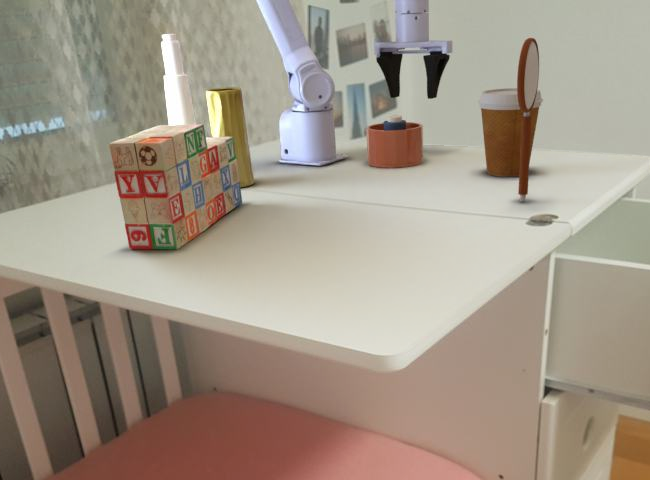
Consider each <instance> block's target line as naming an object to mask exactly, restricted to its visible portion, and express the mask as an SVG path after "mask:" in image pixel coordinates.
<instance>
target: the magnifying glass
mask: <svg viewBox="0 0 650 480" xmlns="http://www.w3.org/2000/svg"><path fill="white" fill-rule="evenodd" d="M539 76H540V51H539V45H538V43H537V39H535V38H534V37H528V38H526V39H525V40H524V42H523V44H522V47H521V50H520V54H519V59H518V66H517V76H516V77H517V79H516V88H517V95H518V103H519V107H520V110H521V111H522V112H524V116H522V124H521V146H520V169H519V176H518V191H517V192H518V194H517V195H519V201H521V202H525V201H527V199H526V198H527V195H528V194H529V193H528V192H529V174H530V163H529V156H530V136H531V116H530V111H531V110H532V108H533V105H534V102H535V99H536V94H537V89H538V88H539V87H538V86H539V78H540V77H539Z"/></svg>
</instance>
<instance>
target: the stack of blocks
mask: <svg viewBox="0 0 650 480" xmlns="http://www.w3.org/2000/svg"><path fill="white" fill-rule="evenodd" d="M108 146H109V150H110V155H111V160H112V165H113V168H114V172H113V173H114V174H113V175H114V178H115V183H116V189H117V193H118V197H119V201H120V206H121V211H122V216H123V221H124V228H125V233H126V237H127V244H128V247H129V249H131V250H179V249H180V248H182V247H183V246H185V245H186V244H187V243H188V242H190V241H192V240H193V239H195V238H196V237H198V236H199V235H200V234H202V233H203V232H205V231H206V230H207V229H208V228H209V227H211V226H212V225H213V224H215V222H217V221H218V220H219V219H221V218H223V217H224V216H225V215H226V214H228V213H230V212H231V211H232V210H234V209H235V208H237V207H238V206H240V205H241V204H242V203H243V198H242V189H241V188H240V182H239V180H240V179H239V171H238V163H237V159H236V154H235V147H234V139H233V137H212V136H210V137H208V136H206V131H205V123H196V124H191V125H169V124H159V125H156V126H153V127H150V128H147V129H144V130H142V131H139V132H137V133H135V134H132V135H129V136H126V137H124V138H120V139H117V140H114V141H110V143H109V145H108Z"/></svg>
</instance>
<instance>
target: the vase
mask: <svg viewBox="0 0 650 480" xmlns="http://www.w3.org/2000/svg"><path fill="white" fill-rule="evenodd" d="M205 97H206V104H207V110H208V119H209V125H210V126H209V127H210V133H211V137H233V139H234V147H235V154H236V159H237V163H238V171H239V179H240V180H239V182H240V189H241V188H247V187H249V186H252V185H254V184H255V183H256V181H255V178H254V172H253V165H252V158H251V151H250V144H249V137H248V136H249V135H248V130H247V123H246V115H245V108H244V97H243V91H242V88H241V87H239V86H228V87H215V88H208V89H206V90H205Z"/></svg>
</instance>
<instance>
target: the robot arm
mask: <svg viewBox="0 0 650 480" xmlns="http://www.w3.org/2000/svg"><path fill="white" fill-rule="evenodd" d="M255 2H256V3H257V6H258V7H259V10H260V12H261V14H262V16H263V19H264V21H265V23H266V26H267V28H268V29H269V30H268V31H269V32H270V34H271V36H272V39H273V40H274V43H275V45H276V47H277V49H278V51H279V53H280V56H281V59H282V63H283V68H284V70H285V72H286V75H287V81H288V83H287V87H288V91H289V94H290V96H291V97H292V98H293V99H294V101H293V103H292V105H291V108H288V109H285V110H284V111H283V112H282V113H281V115H280V118H279V121H278V122H279V123H278V131H279V141H280V142H279V143H280V151H281V158H280V159H279V160H278V162H279V163H283V164H294V165H306V166H318V167H322V166H326V165H328V164H331V163H334V162H338V161H341V160H344V159H347V154H337V146H336V129H335V111H334V104H333V103H331V102H332V101H333V99H334V97H335V94H336V85H335V81H334V79H333V78H332V76H331V75H330V73H328V72H327V71H325V70H324V69H323V67H322V65H321V64H320V61H319V59H318V57H317V56H316V54H315V53H314V51H313V50H312V49H311V47H310V45H309V43H308V41H307V38H306V36H305V34H304V31H303V29H302V27H301V24H300V22H299V20H298V18H297V15H296V14H295V11H294V9H293V6H292V3H291V2H290V0H255ZM429 3H430V1H429V0H394V21H395V23H394V24H395V26H394V27H395V41H380V42H379V41H378V42H374V44H373V45H374V46H373V47H374V48H373V49H374V55H379V56H378V57H376V63H377V64H378V66H379V68H380V70H381V72H382V74H383V76H384V80H385V83H386V85H387V88H388V93H389V97H390V98H391V99H394V98H395V99H396V98H399V97H400V96H401V95H400V93H401V81H400V80H401V66H402V61H403V55H408V54H411V55H412V54H415V55H416V54H420V55H421V54H426V55H423V62H424V67H425V74H426V96H427V99H428V100H429V99H430V100H431V99H437V97H438V91H439V87H440V84H441V79H442V76H443V74H444V71H445V69H446V66H447V65H448V62H449V60H450V57H451V56H450V54H452V53H453V40H430V16H429V15H430V13H429V12H430V8H429V7H430V4H429ZM412 48H413V49H414V48H415V49H416V48H419V50H418V49H416V50H415V49H414V50H413V49H412ZM405 49H409V50H405ZM411 49H412V50H411Z"/></svg>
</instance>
